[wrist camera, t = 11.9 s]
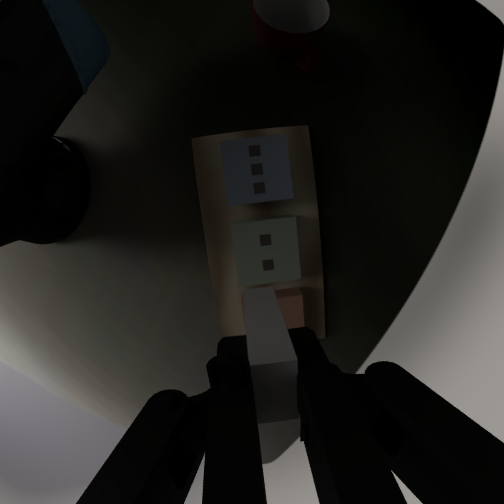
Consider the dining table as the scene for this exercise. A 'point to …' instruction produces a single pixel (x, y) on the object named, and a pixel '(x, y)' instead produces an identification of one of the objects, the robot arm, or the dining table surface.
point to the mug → (291, 28)
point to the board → (221, 216)
